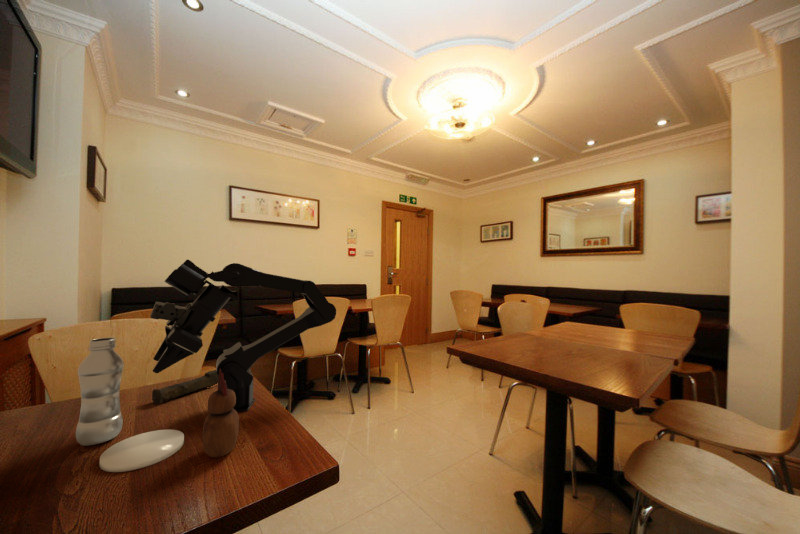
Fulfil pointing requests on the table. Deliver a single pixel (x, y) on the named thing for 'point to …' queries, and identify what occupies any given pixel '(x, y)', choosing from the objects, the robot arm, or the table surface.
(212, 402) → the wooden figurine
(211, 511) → the table surface
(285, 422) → the table surface
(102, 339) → the plastic bottle
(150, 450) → the saucer
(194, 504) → the table surface
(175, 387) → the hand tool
